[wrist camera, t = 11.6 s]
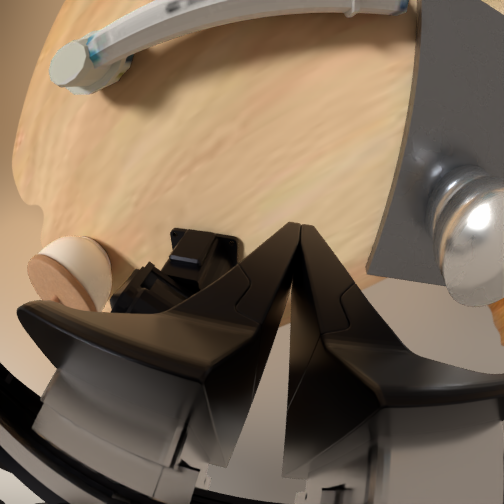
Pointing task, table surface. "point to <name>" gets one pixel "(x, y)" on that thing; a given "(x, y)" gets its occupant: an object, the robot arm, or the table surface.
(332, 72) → the table surface
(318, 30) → the table surface
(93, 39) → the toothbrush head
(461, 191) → the dryer elbow
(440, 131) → the cutting board
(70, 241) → the lidded jar
